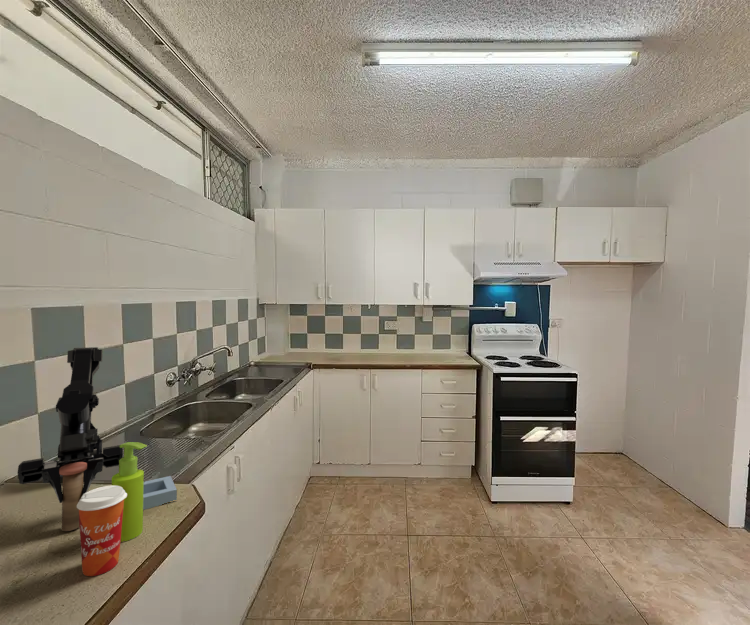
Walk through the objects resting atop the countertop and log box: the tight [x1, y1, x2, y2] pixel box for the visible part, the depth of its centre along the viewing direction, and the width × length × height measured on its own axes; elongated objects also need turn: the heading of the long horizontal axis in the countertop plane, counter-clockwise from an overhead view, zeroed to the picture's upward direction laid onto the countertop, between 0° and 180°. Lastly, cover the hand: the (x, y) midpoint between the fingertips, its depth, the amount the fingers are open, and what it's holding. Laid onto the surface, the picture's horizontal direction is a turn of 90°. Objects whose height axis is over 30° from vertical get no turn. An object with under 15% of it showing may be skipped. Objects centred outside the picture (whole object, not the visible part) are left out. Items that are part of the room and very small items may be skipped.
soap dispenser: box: [111, 441, 148, 543], centre depth 81 cm, size 6×7×20 cm
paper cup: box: [77, 484, 127, 577], centre depth 71 cm, size 8×8×14 cm
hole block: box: [143, 475, 178, 511], centre depth 97 cm, size 10×10×3 cm
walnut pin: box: [59, 462, 87, 532], centre depth 83 cm, size 5×5×14 cm
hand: (72, 499), depth 82 cm, fingers closed on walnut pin, 4 cm apart
